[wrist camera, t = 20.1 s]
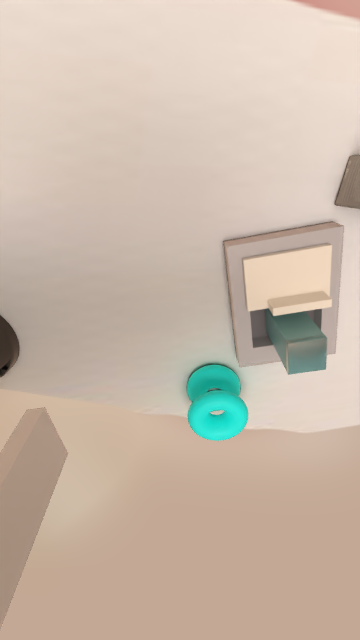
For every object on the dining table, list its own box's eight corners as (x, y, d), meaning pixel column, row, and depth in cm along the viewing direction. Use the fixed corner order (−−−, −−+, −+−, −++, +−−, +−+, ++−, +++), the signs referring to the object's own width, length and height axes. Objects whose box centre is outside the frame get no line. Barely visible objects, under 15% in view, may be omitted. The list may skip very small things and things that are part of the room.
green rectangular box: (264, 305, 50) (287, 343, 39) (295, 300, 49) (327, 338, 39) (266, 331, 52) (288, 374, 41) (295, 326, 52) (325, 369, 41)
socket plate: (236, 355, 55) (239, 367, 52) (223, 241, 45) (226, 246, 42) (326, 342, 54) (335, 353, 51) (332, 221, 44) (344, 225, 41)
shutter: (246, 308, 47) (252, 320, 43) (242, 258, 43) (248, 267, 39) (326, 295, 46) (338, 307, 42) (328, 243, 42) (342, 250, 38)
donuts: (175, 423, 49) (220, 388, 46) (175, 383, 58) (213, 352, 55) (217, 452, 52) (262, 421, 49) (212, 410, 61) (249, 382, 58)
